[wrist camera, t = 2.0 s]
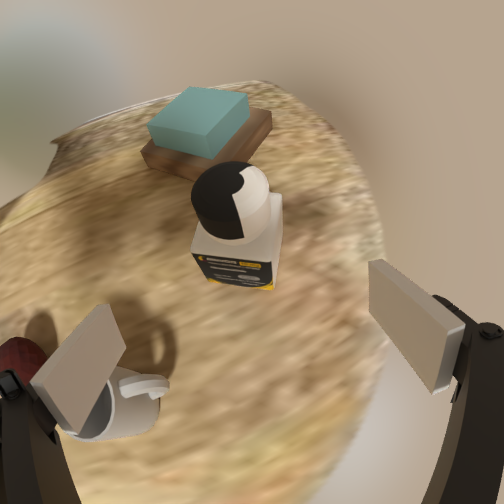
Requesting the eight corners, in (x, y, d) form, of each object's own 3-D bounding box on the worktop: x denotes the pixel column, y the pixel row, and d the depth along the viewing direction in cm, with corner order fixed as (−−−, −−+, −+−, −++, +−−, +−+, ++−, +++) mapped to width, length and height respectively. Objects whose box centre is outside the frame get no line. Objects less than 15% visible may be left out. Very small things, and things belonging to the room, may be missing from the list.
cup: (95, 381, 26) (41, 368, 18) (169, 351, 27) (127, 330, 20) (116, 441, 23) (63, 447, 15) (196, 415, 24) (160, 422, 16)
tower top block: (155, 145, 37) (146, 124, 34) (195, 106, 41) (189, 86, 38) (212, 159, 34) (205, 135, 31) (250, 116, 38) (247, 93, 35)
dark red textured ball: (20, 356, 28) (-16, 343, 22) (52, 336, 29) (15, 319, 23) (32, 406, 24) (-7, 399, 18) (67, 389, 26) (26, 381, 19)
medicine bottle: (207, 282, 31) (168, 218, 20) (222, 226, 34) (197, 150, 23) (274, 291, 29) (268, 227, 19) (283, 232, 33) (281, 153, 22)
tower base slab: (149, 169, 41) (140, 151, 37) (200, 116, 46) (195, 98, 43) (226, 194, 37) (220, 173, 33) (272, 131, 42) (271, 111, 38)
